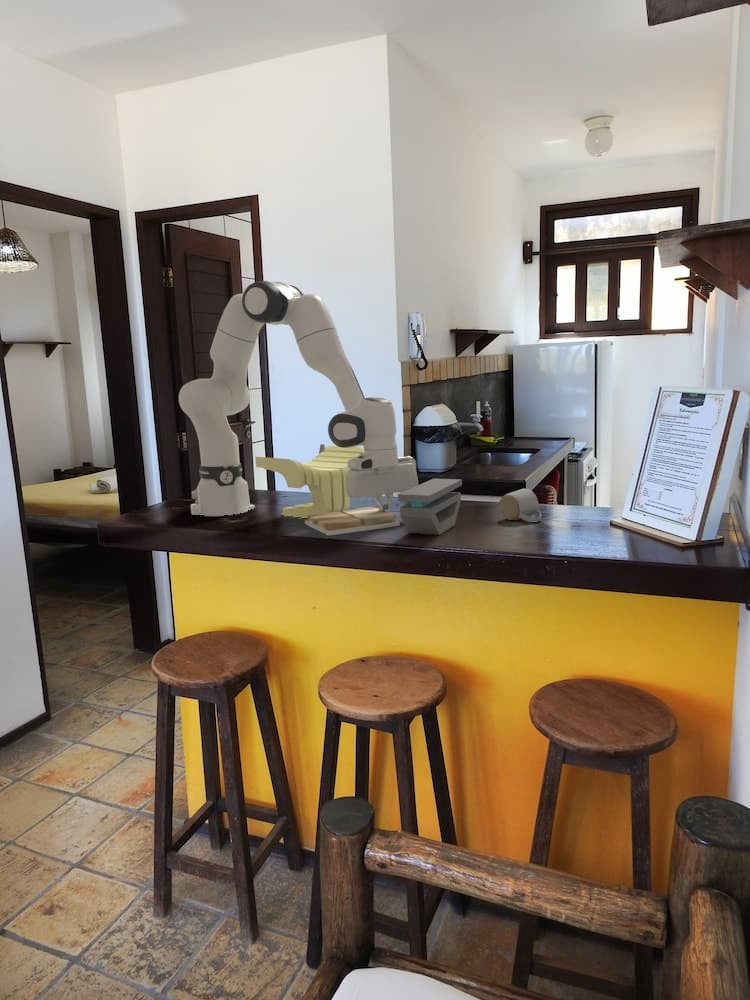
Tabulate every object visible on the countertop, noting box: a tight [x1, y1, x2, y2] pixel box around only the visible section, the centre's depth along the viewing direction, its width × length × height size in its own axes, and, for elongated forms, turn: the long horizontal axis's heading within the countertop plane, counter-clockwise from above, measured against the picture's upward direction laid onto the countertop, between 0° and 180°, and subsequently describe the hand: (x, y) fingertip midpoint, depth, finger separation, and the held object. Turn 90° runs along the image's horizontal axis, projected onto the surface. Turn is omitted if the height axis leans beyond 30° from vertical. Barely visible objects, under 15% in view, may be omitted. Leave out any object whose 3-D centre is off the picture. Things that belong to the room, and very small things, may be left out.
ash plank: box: [342, 506, 397, 525], centre depth 188 cm, size 14×9×2 cm, turn 27°
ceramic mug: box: [498, 488, 542, 523], centre depth 185 cm, size 11×8×8 cm
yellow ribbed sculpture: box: [254, 445, 364, 519], centre depth 200 cm, size 30×16×18 cm, turn 143°
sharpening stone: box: [397, 478, 463, 536], centre depth 178 cm, size 25×8×11 cm, turn 156°
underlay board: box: [304, 519, 401, 536], centre depth 186 cm, size 16×20×1 cm
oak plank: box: [307, 512, 361, 531], centre depth 184 cm, size 14×9×2 cm, turn 27°
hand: (384, 510), depth 190 cm, fingers closed, pressing on ash plank
